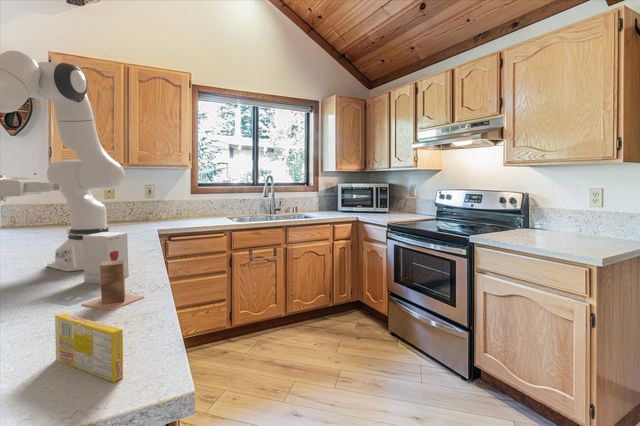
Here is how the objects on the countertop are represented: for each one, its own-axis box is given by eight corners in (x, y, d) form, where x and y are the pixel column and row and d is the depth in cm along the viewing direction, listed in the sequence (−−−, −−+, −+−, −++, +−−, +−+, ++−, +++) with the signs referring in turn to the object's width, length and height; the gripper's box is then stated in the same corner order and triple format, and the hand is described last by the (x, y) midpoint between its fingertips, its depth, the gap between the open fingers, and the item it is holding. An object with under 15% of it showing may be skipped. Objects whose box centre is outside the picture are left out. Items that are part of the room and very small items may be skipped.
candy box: (125, 377, 58) (123, 328, 57) (113, 384, 56) (110, 333, 56) (67, 355, 65) (65, 311, 65) (54, 360, 63) (51, 315, 63)
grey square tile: (44, 302, 92) (43, 301, 92) (77, 292, 101) (77, 291, 101) (69, 307, 89) (68, 306, 89) (101, 296, 98) (101, 295, 98)
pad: (82, 306, 90) (81, 304, 90) (116, 294, 99) (116, 292, 99) (112, 311, 87) (111, 309, 87) (144, 298, 96) (144, 296, 96)
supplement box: (108, 285, 108) (106, 236, 107) (83, 283, 110) (81, 235, 109) (130, 277, 117) (128, 232, 116) (106, 275, 119) (104, 231, 118)
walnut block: (101, 304, 90) (99, 265, 89) (103, 298, 94) (102, 261, 93) (124, 301, 92) (122, 263, 91) (125, 296, 96) (123, 259, 95)
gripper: (-39, 172, 73) (44, 174, 79) (-2, 174, 92) (63, 175, 98) (-37, 203, 74) (46, 202, 80) (-1, 198, 92) (64, 198, 98)
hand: (55, 187), depth 89 cm, fingers open, 8 cm apart
